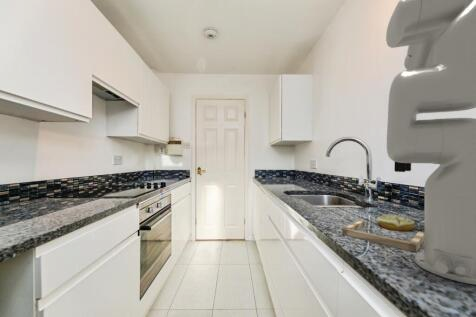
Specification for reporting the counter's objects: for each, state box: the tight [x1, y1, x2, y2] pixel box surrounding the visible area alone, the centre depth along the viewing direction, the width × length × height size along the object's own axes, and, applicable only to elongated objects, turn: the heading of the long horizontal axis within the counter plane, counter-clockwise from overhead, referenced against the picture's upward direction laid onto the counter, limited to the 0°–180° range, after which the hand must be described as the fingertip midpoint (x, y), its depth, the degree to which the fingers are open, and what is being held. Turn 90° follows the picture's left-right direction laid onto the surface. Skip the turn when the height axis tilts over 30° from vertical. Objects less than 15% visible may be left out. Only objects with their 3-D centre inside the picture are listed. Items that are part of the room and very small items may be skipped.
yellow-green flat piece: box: [376, 214, 416, 232], centre depth 78 cm, size 10×11×4 cm
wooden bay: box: [341, 219, 424, 253], centre depth 68 cm, size 16×18×2 cm
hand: (402, 171), depth 85 cm, fingers open, 9 cm apart
